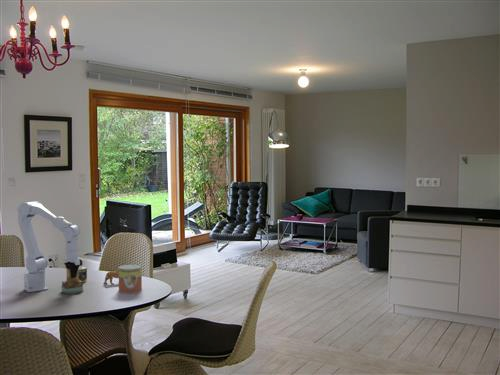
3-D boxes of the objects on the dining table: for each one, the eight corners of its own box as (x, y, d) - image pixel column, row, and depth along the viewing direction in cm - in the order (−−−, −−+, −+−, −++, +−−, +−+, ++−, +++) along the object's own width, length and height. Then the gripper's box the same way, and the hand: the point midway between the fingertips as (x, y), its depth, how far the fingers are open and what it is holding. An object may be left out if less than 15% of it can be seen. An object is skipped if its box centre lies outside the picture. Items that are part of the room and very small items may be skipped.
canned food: (118, 294, 249) (118, 269, 248) (118, 288, 260) (118, 265, 259) (142, 292, 252) (142, 268, 251) (141, 287, 263) (141, 263, 262)
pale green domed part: (66, 295, 246) (66, 290, 246) (58, 291, 254) (58, 286, 254) (86, 291, 253) (86, 286, 253) (78, 287, 260) (78, 283, 260)
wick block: (68, 284, 251) (68, 269, 250) (66, 283, 253) (66, 269, 252) (78, 282, 254) (78, 268, 253) (76, 281, 256) (76, 267, 255)
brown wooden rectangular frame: (66, 288, 248) (66, 283, 248) (62, 286, 253) (62, 281, 253) (82, 286, 254) (82, 281, 254) (78, 284, 258) (78, 279, 258)
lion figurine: (126, 280, 277) (126, 263, 277) (131, 282, 273) (131, 265, 273) (101, 284, 268) (100, 267, 267) (105, 286, 264) (105, 269, 263)
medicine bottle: (75, 283, 269) (75, 260, 269) (67, 281, 274) (67, 259, 273) (87, 280, 275) (86, 258, 274) (79, 279, 279) (78, 257, 279)
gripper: (85, 251, 249) (86, 278, 250) (74, 246, 260) (74, 273, 261) (71, 252, 245) (71, 280, 245) (60, 248, 256) (60, 275, 257)
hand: (72, 277), depth 253 cm, fingers closed on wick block, 2 cm apart
